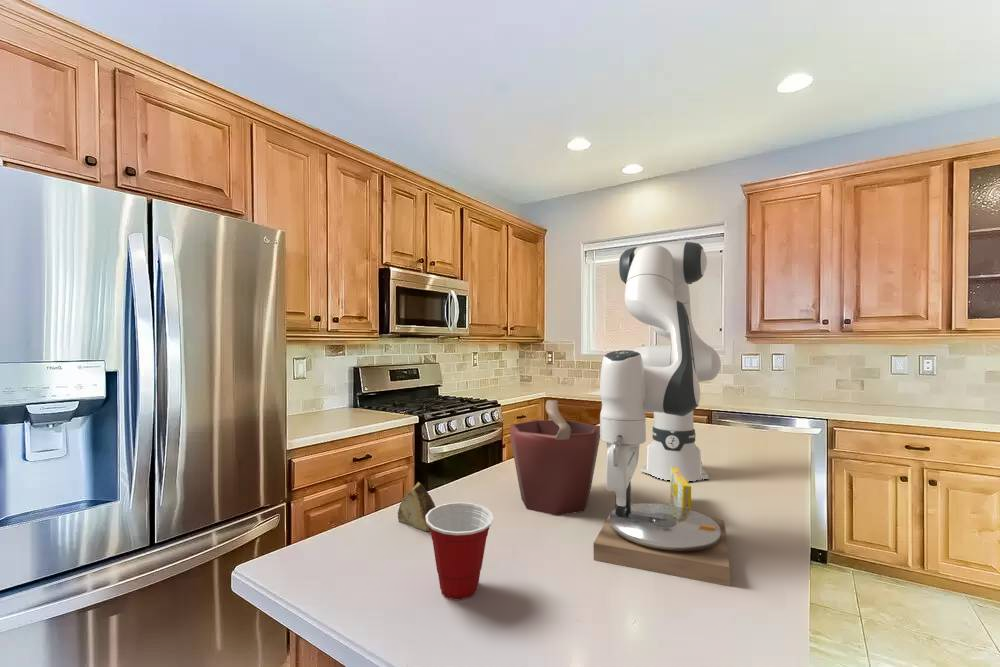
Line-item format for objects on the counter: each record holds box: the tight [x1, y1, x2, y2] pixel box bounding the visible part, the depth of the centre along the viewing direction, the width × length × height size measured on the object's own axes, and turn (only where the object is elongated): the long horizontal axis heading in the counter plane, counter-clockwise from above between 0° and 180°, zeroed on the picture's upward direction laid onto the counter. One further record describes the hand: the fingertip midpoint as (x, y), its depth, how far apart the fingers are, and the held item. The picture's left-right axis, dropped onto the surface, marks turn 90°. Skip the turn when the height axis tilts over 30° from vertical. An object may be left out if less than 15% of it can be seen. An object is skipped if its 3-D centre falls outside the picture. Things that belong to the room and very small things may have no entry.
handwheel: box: [609, 481, 721, 551], centre depth 88 cm, size 20×20×8 cm
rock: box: [397, 481, 436, 532], centre depth 99 cm, size 11×9×10 cm
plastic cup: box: [426, 502, 494, 600], centre depth 72 cm, size 11×11×12 cm
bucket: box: [509, 399, 601, 516], centre depth 113 cm, size 24×22×25 cm
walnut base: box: [593, 505, 731, 587], centre depth 88 cm, size 22×22×3 cm
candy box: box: [669, 467, 692, 510], centre depth 107 cm, size 16×2×8 cm, turn 168°
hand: (623, 501), depth 91 cm, fingers open, 3 cm apart
